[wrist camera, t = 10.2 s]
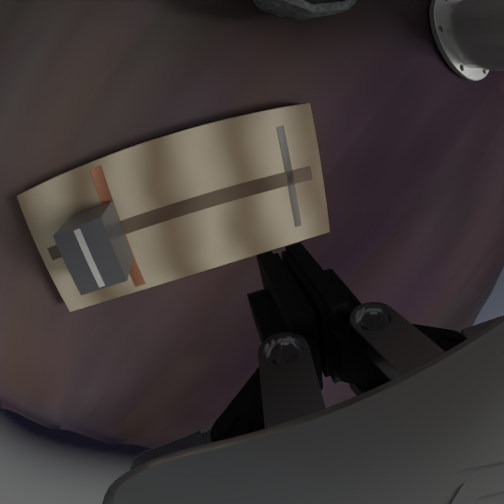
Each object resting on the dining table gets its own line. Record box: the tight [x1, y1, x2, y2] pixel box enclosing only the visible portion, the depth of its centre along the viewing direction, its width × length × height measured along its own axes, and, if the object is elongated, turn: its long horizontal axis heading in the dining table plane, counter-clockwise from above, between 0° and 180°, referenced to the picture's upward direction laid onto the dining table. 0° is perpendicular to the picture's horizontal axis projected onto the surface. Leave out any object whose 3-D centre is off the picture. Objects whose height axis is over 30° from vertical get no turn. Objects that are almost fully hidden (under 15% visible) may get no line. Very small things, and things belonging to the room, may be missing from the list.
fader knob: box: [53, 201, 133, 295], centre depth 22 cm, size 4×5×4 cm
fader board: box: [17, 103, 330, 312], centre depth 25 cm, size 26×12×2 cm, turn 102°
